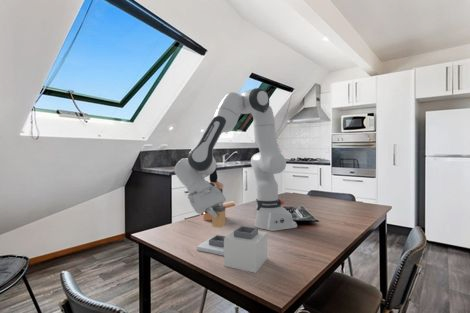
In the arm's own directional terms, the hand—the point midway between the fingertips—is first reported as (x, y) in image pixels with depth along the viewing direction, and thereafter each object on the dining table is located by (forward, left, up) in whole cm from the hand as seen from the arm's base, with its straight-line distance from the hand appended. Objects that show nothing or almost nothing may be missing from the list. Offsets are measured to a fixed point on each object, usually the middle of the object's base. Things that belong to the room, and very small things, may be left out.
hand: (220, 215), depth 107 cm
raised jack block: (-8, +16, -13) cm, 22 cm away
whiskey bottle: (-1, -43, -14) cm, 45 cm away
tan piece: (+1, 0, -5) cm, 5 cm away
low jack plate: (0, 0, -13) cm, 14 cm away
